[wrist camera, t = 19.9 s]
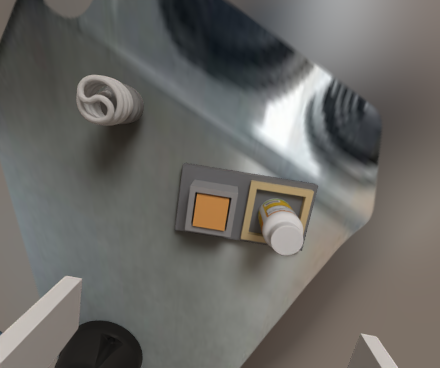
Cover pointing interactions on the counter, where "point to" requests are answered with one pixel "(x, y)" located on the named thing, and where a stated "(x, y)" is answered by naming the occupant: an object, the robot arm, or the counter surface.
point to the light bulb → (108, 101)
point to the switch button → (210, 211)
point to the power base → (240, 200)
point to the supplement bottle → (280, 226)
